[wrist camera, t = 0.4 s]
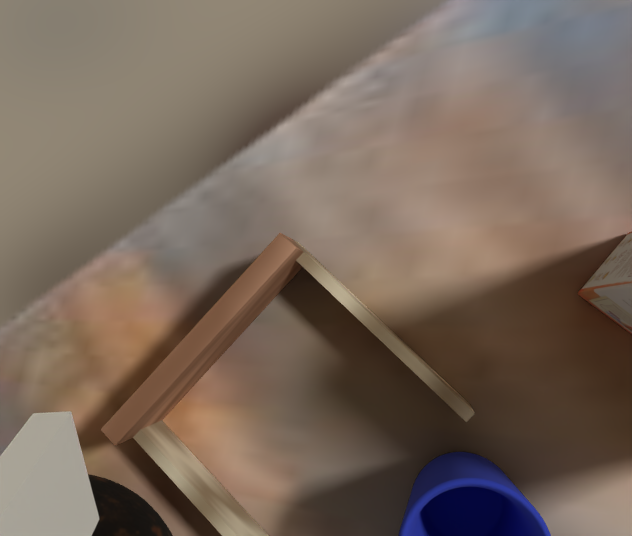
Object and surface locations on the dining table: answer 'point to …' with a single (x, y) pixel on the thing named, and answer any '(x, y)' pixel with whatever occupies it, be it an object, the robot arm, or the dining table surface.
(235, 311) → the channel
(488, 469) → the mug
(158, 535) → the dark brown vase
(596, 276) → the cracker box
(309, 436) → the dining table surface
